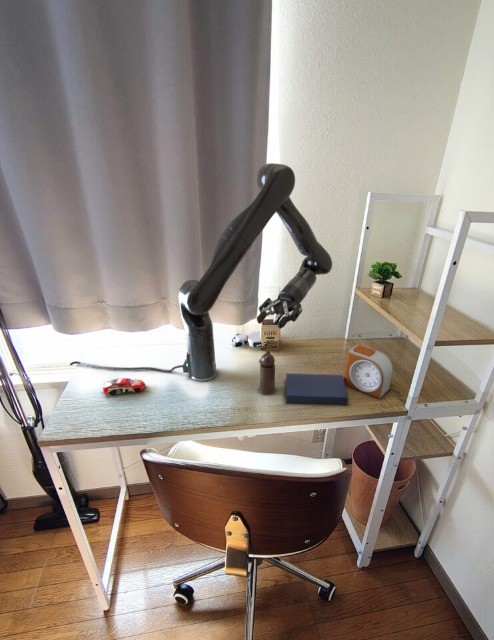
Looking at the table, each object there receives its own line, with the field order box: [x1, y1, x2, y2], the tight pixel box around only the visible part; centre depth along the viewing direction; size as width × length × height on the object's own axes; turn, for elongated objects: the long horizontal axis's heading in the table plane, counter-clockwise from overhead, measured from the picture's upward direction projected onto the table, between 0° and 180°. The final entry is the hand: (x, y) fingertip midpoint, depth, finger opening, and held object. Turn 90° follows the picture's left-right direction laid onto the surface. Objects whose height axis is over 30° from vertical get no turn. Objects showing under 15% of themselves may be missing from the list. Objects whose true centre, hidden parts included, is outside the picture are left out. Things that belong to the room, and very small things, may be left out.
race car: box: [102, 377, 146, 396], centre depth 123 cm, size 13×5×4 cm, turn 103°
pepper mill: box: [258, 349, 276, 396], centre depth 123 cm, size 5×5×14 cm
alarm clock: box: [343, 344, 394, 399], centre depth 128 cm, size 15×8×14 cm, turn 53°
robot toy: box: [230, 331, 266, 350], centre depth 154 cm, size 12×4×15 cm
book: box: [285, 372, 349, 406], centre depth 126 cm, size 20×14×3 cm
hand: (268, 324), depth 120 cm, fingers open, 8 cm apart
